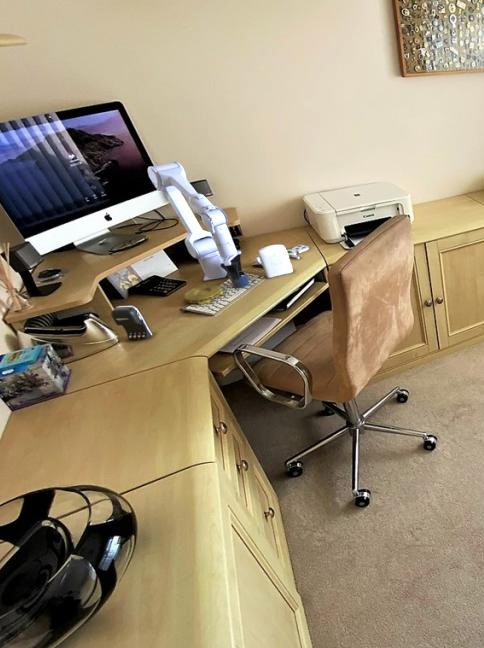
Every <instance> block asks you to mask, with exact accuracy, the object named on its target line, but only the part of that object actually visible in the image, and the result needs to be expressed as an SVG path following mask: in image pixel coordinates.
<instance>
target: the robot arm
mask: <svg viewBox="0 0 484 648" xmlns="http://www.w3.org/2000/svg"><path fill="white" fill-rule="evenodd" d="M147 174H148V178H149V179H150V180H151V183H152V184H153V185H154V187H155V188H156V190H157V191H158V192H162V193H163V194H164V195H165V197H166V198H167V200H168V201H169V203H170V205H171V206H172V209H173V210H174V212H175V214H176V215H177V217H178V218H179V220H180V222H181V223H182V225H183V227H184V228H185V230H186V232H187V233H188V234H187V236H186V238H185V239H184V244H185V246H186V248H187V252H188V253H189V254H190V255H191V257H192V258H193V259H197V260H198V262H199V265H200V267H201V269H202V271H203V273H204V278H203V281H204V282H206V281H212V280H217V279H224V278H226V277H227V275H229V276H231V278H232V279H233V280H237V279H239V273H238V272H243V268H242V261H241V256H242V251H241V250H237V248H236V245H235V243H234V240H233V237H232V235H231V232H230V230H229V228H228V225H227V224H228V222H229V220H228V216H227V214H226V213H225V212H224V210H223V209H222V208H221V207H219V206H216V205H214V204H213V203H212V202H211V201H210V200H209V199H208V198H207V197H206V196H205V195H204V194H202V193H198V192H197V190H195V188H194V187H193V185H192V184H191V183H190V182H189V180H188V179H187V175H186V174H187V173H186V171H185V169H184V167H183V165H182V164H181V163H180V162H178V161H172V162H168V163H167V162H166V163H163V164H157V165H153V166H148V168H147ZM184 196H185V197H186V199H188V201H186V199H185V197H184ZM191 208H192V209H193V210H194V211H195V212H196V213H197V214H198V215H199V216H200V218H201V221H202V224H203V225H204V226H205V227H206V229H207V230H205V229H203V227H202V226H201V224H200V223H199V222H198V220H197V218H196V216H195V214H194V212H193V211H192V209H191Z"/></svg>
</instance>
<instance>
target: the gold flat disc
mask: <svg viewBox="0 0 484 648" xmlns="http://www.w3.org/2000/svg"><path fill="white" fill-rule="evenodd" d="M223 294H224V291H223V289H222V287H221V285H220V284H217V283H211V284H210V283H209V284H208V283H207V284H203V285H200V286H195V287H193V288H191V289H190V290H187V292H185V294H184V296H183V298H184V299H185V301H186V303H187V304H188V303H189V304H198V305H205V304H209V303H211V301H212V300H213V299H216V298H218V297H219V296H222V295H223Z"/></svg>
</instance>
